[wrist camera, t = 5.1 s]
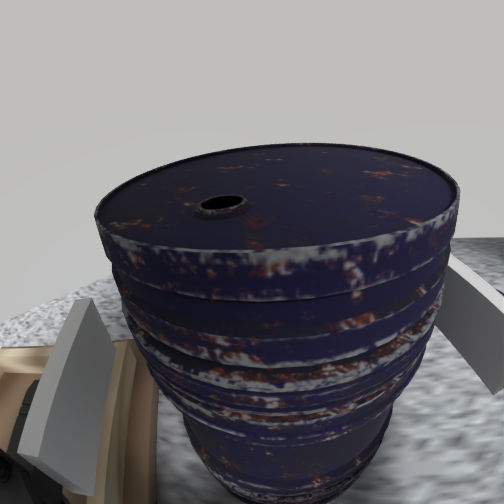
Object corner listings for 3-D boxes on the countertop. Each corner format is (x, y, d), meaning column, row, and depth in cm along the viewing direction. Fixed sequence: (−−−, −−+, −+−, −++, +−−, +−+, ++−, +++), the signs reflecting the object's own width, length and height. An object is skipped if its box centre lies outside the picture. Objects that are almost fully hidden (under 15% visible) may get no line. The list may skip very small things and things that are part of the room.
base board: (162, 346, 23) (150, 316, 21) (165, 601, 5) (138, 604, 4) (7, 355, 21) (-9, 332, 20) (-48, 520, 4) (-78, 500, 2)
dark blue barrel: (250, 362, 21) (217, 145, 14) (385, 392, 17) (434, 150, 10) (174, 473, 13) (25, 230, 6) (343, 533, 9) (533, 310, 2)
